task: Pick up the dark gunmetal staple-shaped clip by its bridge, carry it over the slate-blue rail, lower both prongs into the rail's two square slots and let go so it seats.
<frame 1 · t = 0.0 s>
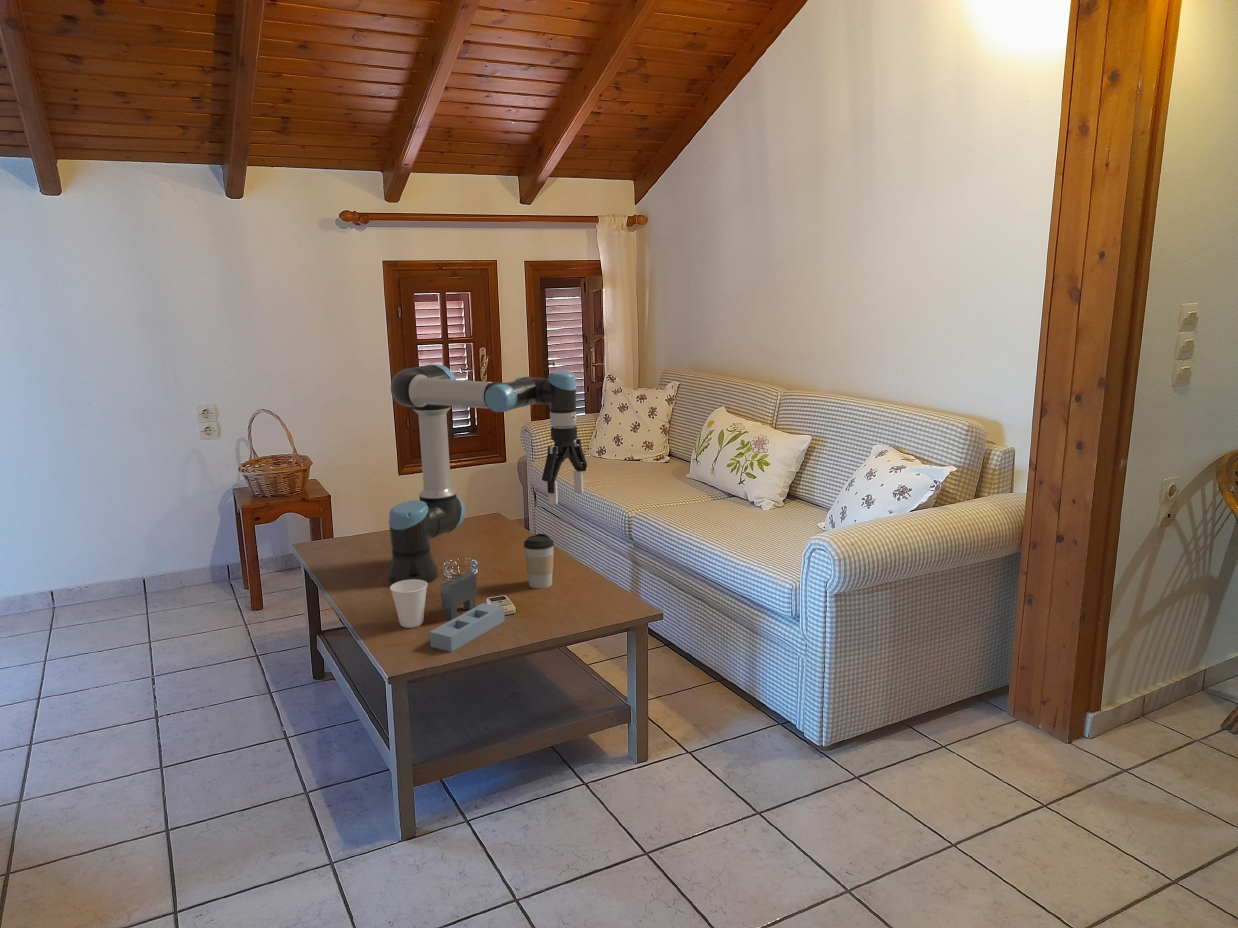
hand: (566, 498, 257), 28 cm above the table, fingers open, 13 cm apart
cup: (411, 624, 240), on the table
rail: (468, 633, 233), on the table
coffee cup: (540, 584, 268), on the table
clip: (460, 613, 247), on the table
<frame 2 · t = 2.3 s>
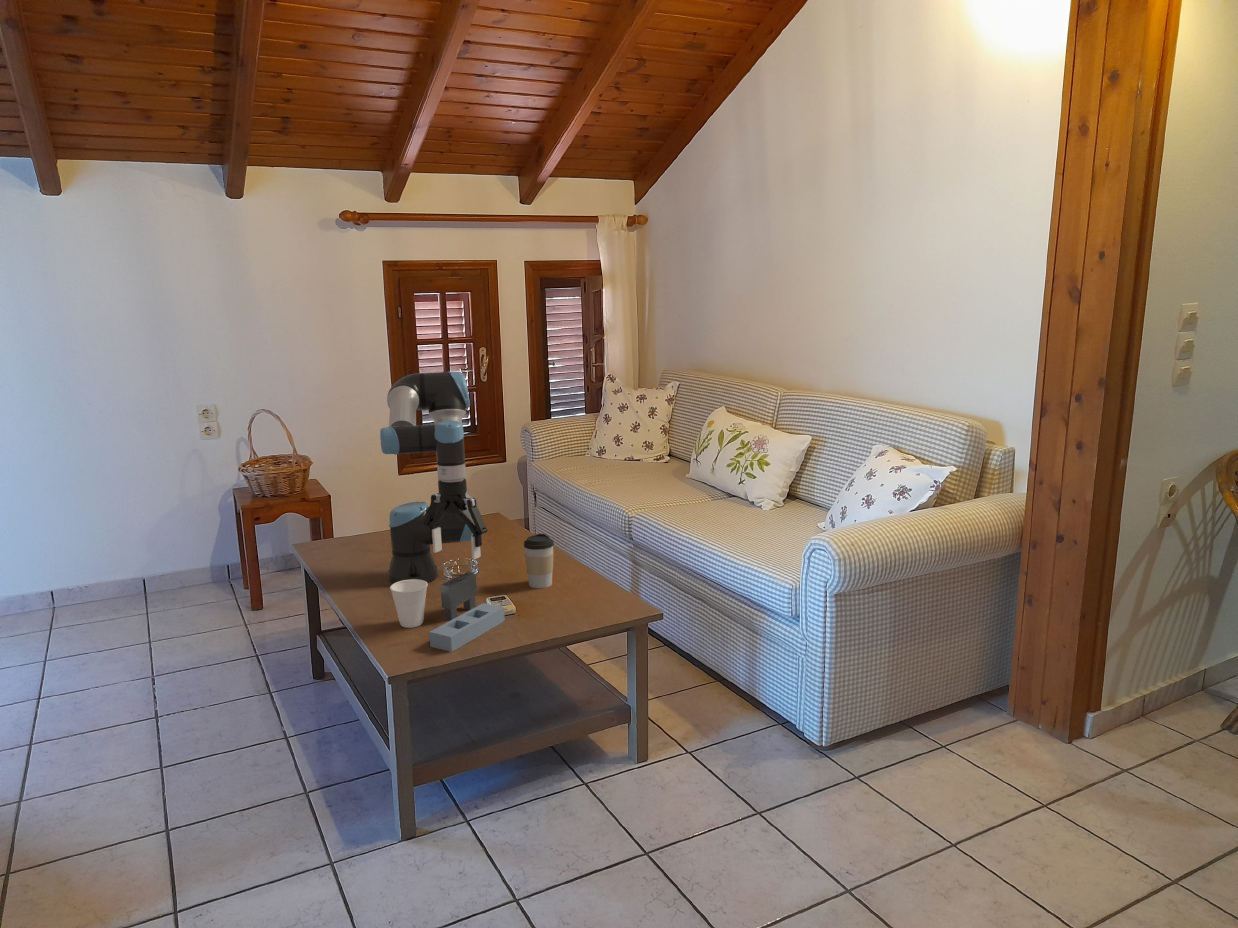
hand: (456, 554, 243), 17 cm above the table, fingers open, 13 cm apart
nothing on the table moved.
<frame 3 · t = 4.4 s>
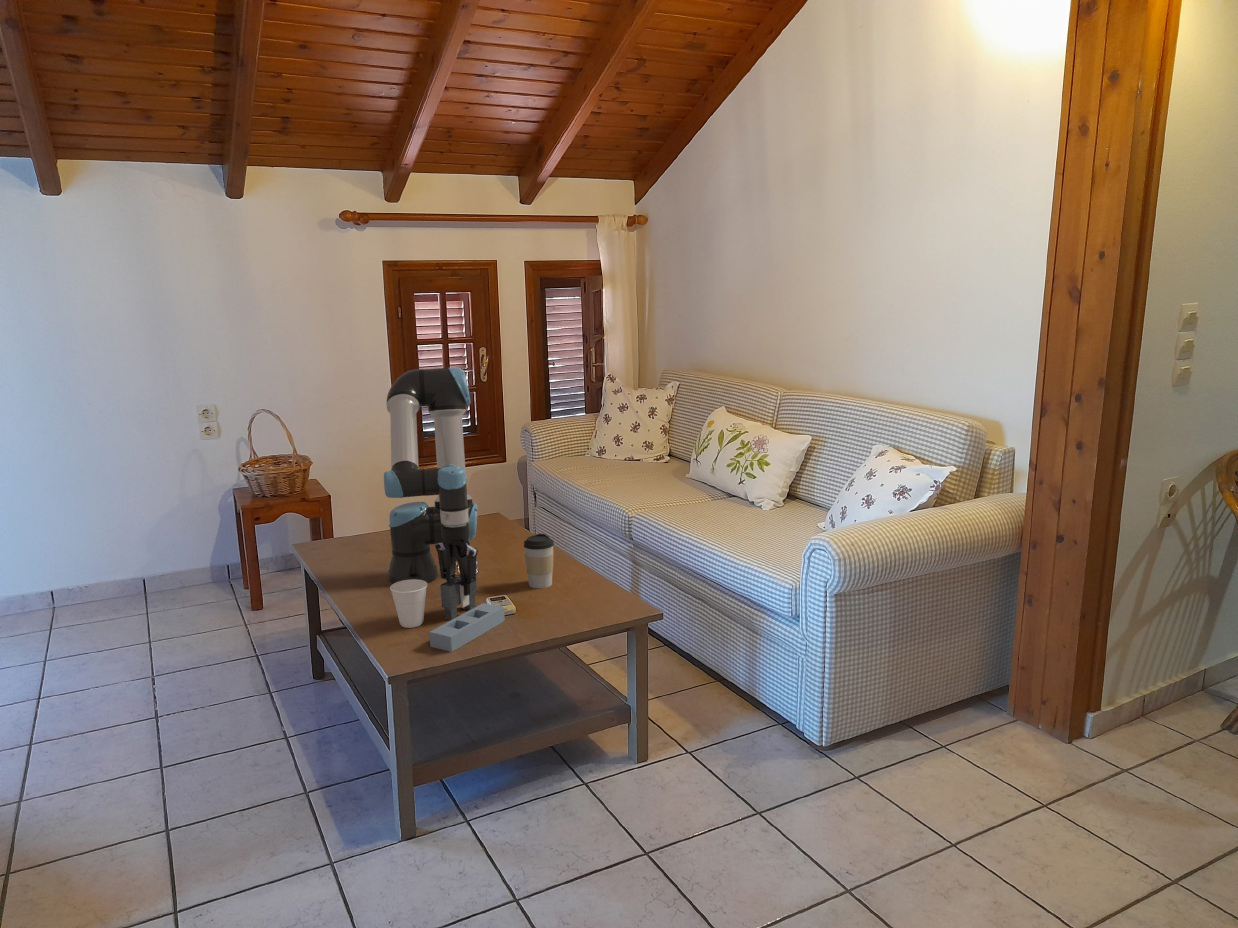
hand: (460, 604, 246), 3 cm above the table, fingers closed on clip, 3 cm apart
clip: (460, 612, 247), on the table, touching gripper
everything else where it was.
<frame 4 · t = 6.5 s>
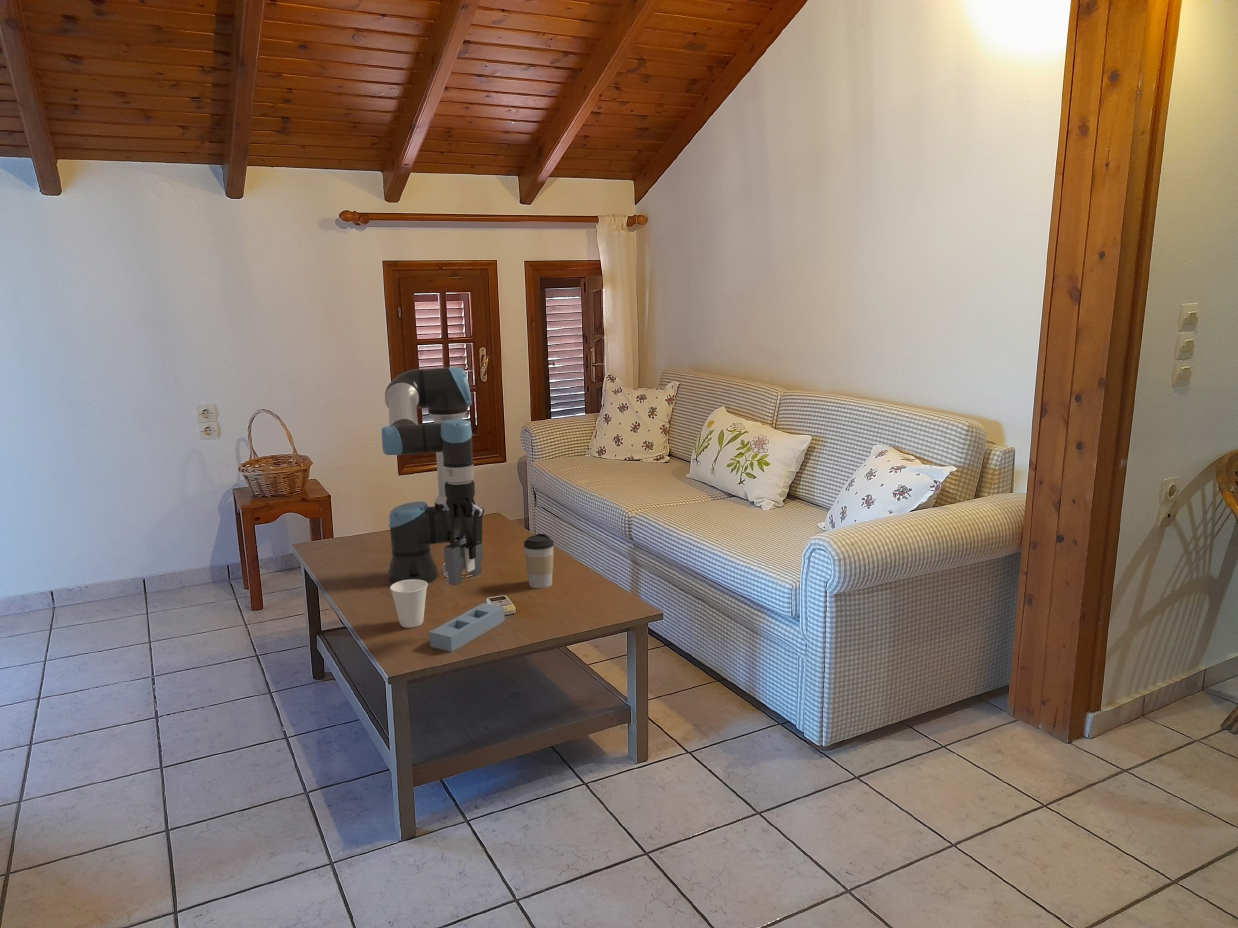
hand: (464, 569, 229), 18 cm above the table, fingers closed on clip, 3 cm apart
clip: (465, 578, 229), point 15 cm above the table, touching gripper
everything else where it was.
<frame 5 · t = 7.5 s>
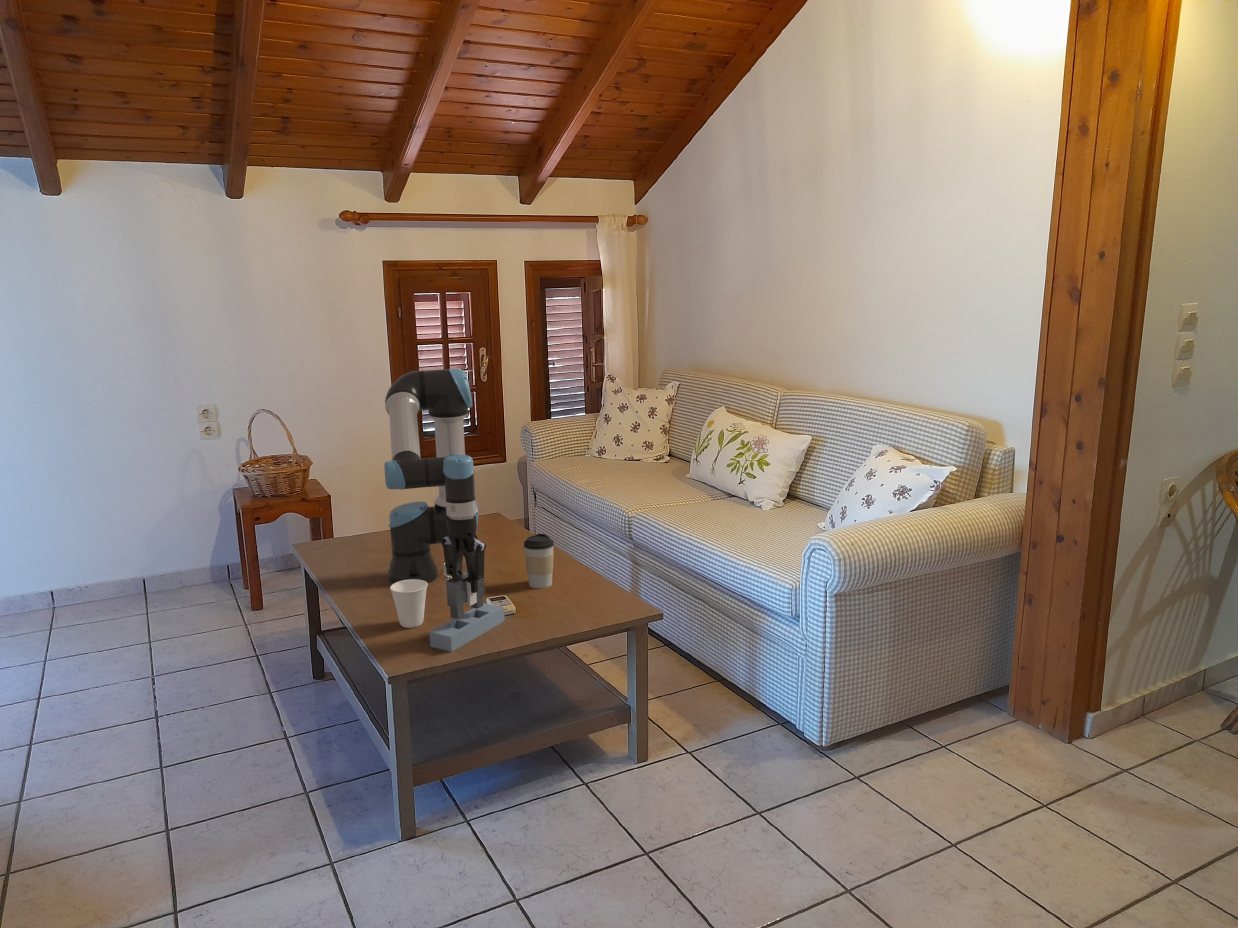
hand: (466, 602, 231), 9 cm above the table, fingers closed on clip, 3 cm apart
clip: (467, 611, 231), point 6 cm above the table, touching gripper
everything else where it was.
when the fingers open (5 cm above the table, at t = 8.6 s): clip drops 1 cm, resting on rail.
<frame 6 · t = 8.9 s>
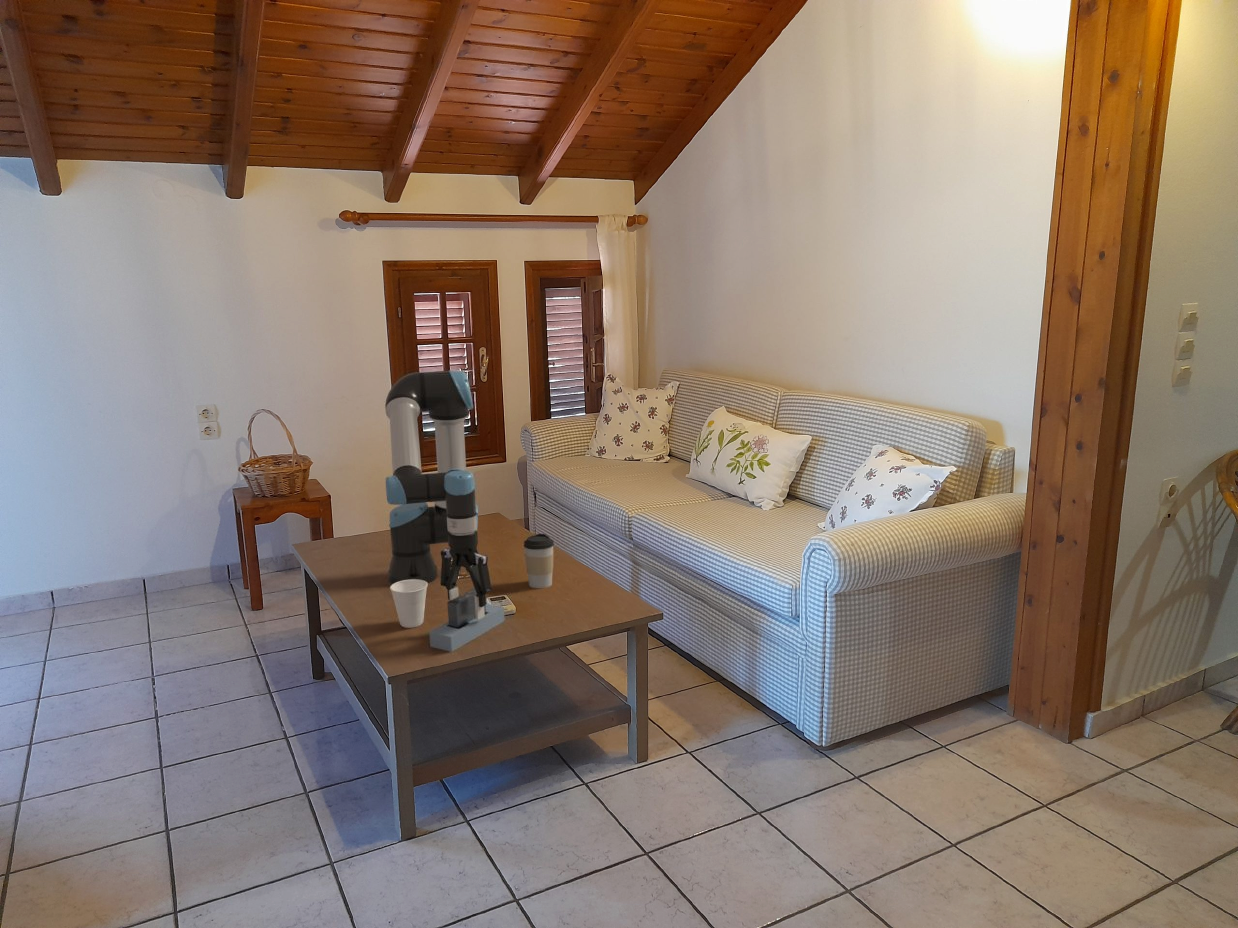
hand: (467, 614, 232), 5 cm above the table, fingers open, 8 cm apart
clip: (468, 631, 233), resting on rail
everything else where it was.
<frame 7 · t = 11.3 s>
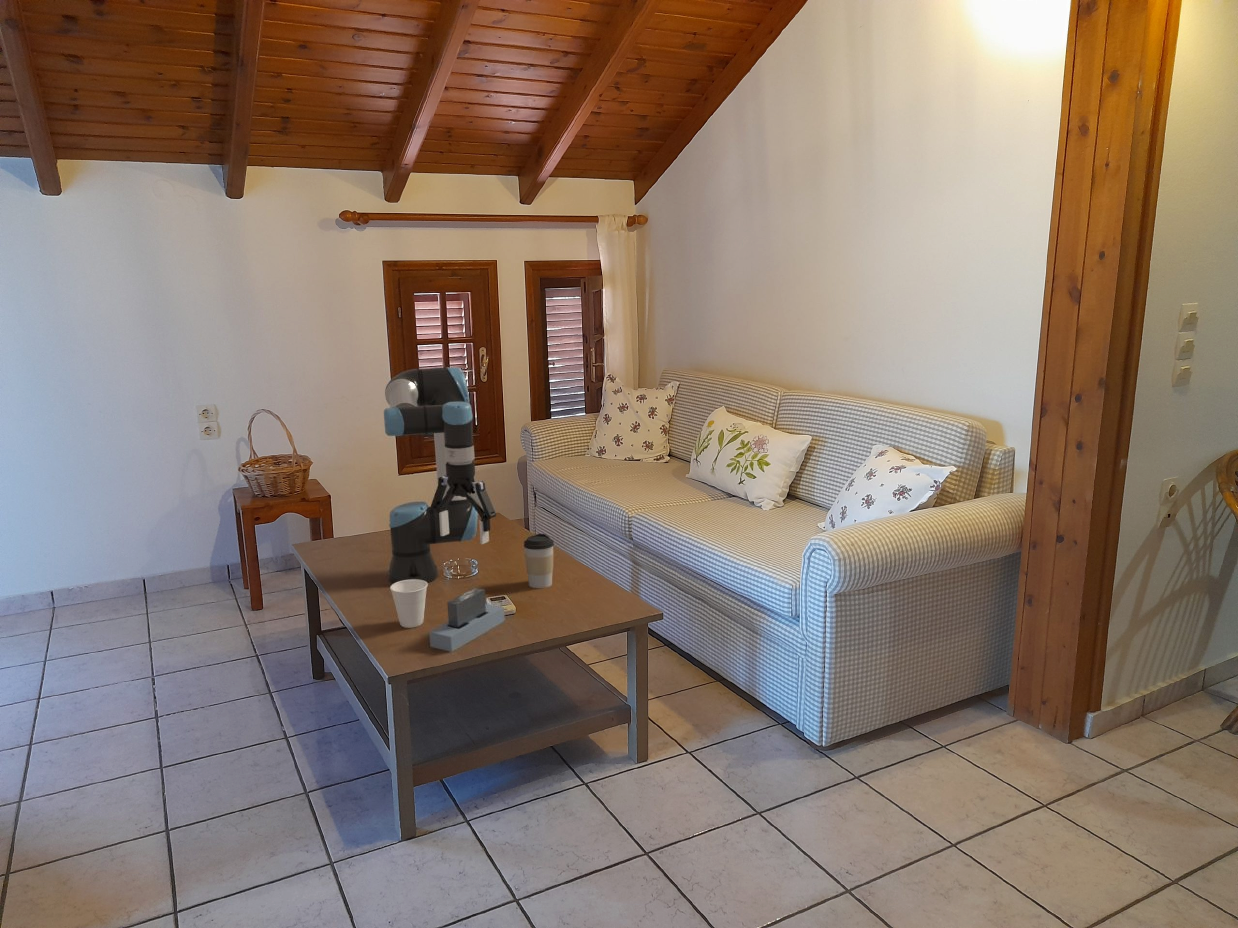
hand: (464, 538, 237), 23 cm above the table, fingers open, 13 cm apart
nothing on the table moved.
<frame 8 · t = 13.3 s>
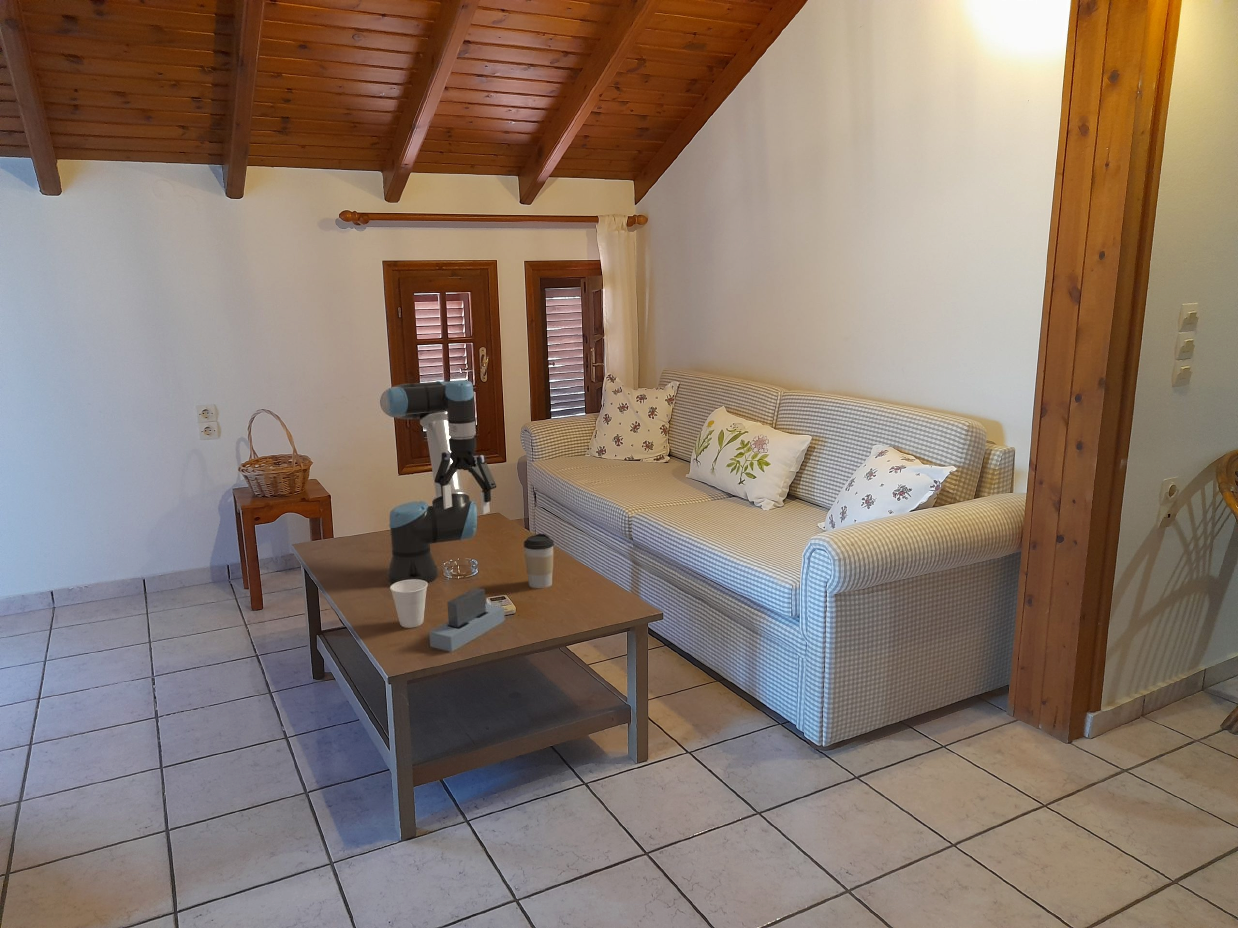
hand: (466, 510, 251), 27 cm above the table, fingers open, 13 cm apart
nothing on the table moved.
at the end: clip 0.0 cm off-centre on the rail, point 0.5 cm above the rail's base; clip tilted 0°; the gripper is holding nothing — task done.
